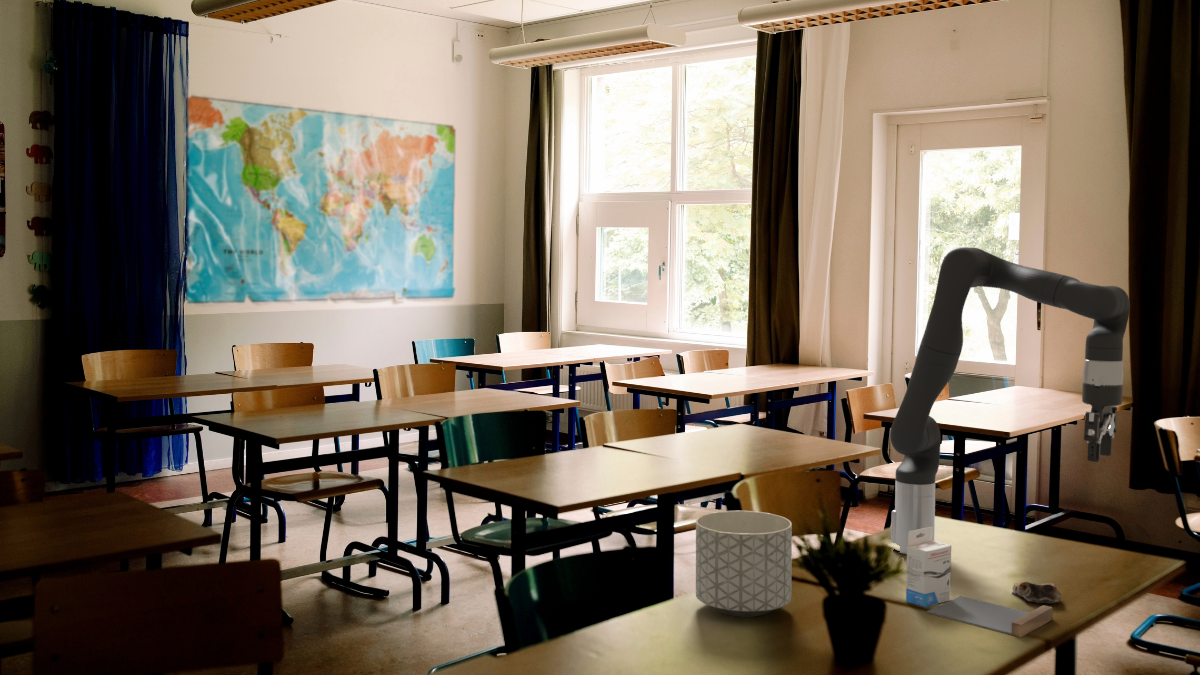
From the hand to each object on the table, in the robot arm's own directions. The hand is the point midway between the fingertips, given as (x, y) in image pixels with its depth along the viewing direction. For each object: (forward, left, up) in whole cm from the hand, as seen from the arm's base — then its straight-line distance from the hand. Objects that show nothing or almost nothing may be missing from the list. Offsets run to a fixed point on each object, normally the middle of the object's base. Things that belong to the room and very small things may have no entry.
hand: (1099, 458), depth 212 cm
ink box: (-22, -31, -29) cm, 47 cm away
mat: (-10, -31, -29) cm, 43 cm away
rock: (-7, -14, -29) cm, 33 cm away
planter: (-45, -63, -29) cm, 82 cm away
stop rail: (0, -31, -29) cm, 42 cm away
